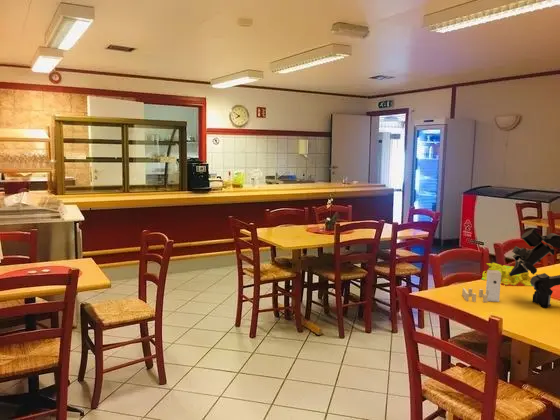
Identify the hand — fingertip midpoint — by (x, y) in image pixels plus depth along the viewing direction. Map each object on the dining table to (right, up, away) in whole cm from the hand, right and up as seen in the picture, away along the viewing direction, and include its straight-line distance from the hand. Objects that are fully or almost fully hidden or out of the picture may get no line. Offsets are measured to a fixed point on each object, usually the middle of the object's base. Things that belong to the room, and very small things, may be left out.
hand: (509, 275), depth 221 cm
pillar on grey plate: (-7, -12, +3) cm, 15 cm away
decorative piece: (+20, -9, +44) cm, 49 cm away
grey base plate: (-11, -13, +4) cm, 18 cm away
